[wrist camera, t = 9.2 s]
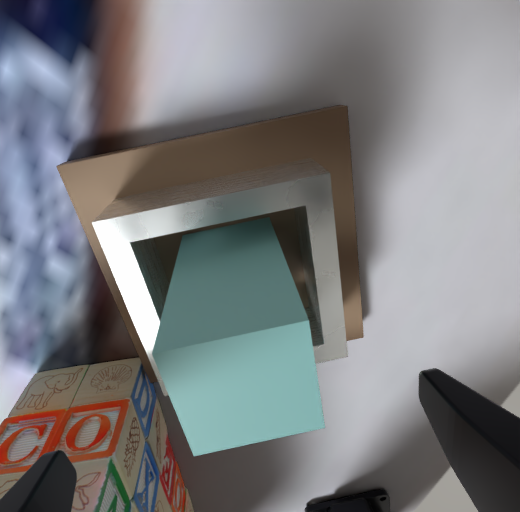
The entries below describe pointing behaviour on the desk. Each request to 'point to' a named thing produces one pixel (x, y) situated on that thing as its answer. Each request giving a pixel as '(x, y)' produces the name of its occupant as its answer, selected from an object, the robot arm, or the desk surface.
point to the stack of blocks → (97, 437)
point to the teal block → (237, 341)
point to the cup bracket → (219, 211)
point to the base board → (221, 164)
